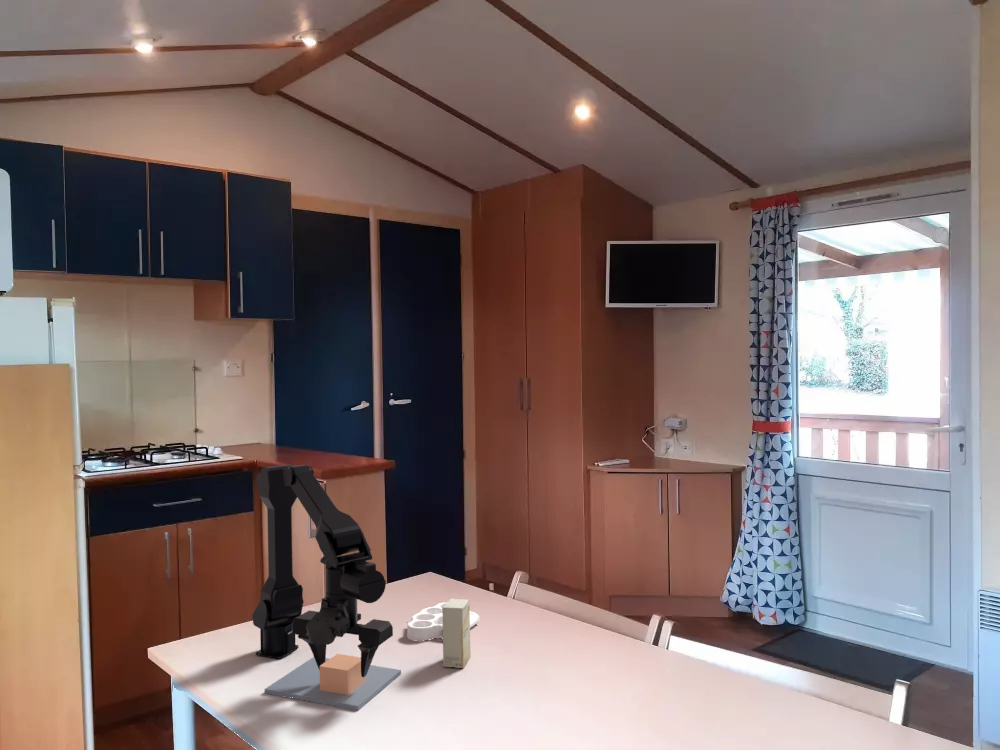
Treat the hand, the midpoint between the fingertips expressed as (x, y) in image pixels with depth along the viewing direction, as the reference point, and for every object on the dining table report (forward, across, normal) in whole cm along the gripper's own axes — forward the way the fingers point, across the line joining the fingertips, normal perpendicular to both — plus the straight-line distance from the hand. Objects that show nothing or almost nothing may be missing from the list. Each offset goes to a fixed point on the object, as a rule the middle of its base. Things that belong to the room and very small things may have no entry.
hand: (342, 672), depth 139 cm
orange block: (+2, 0, 0) cm, 3 cm away
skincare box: (+4, +15, +19) cm, 24 cm away
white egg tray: (+4, +4, +35) cm, 36 cm away
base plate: (+3, -3, +2) cm, 5 cm away
